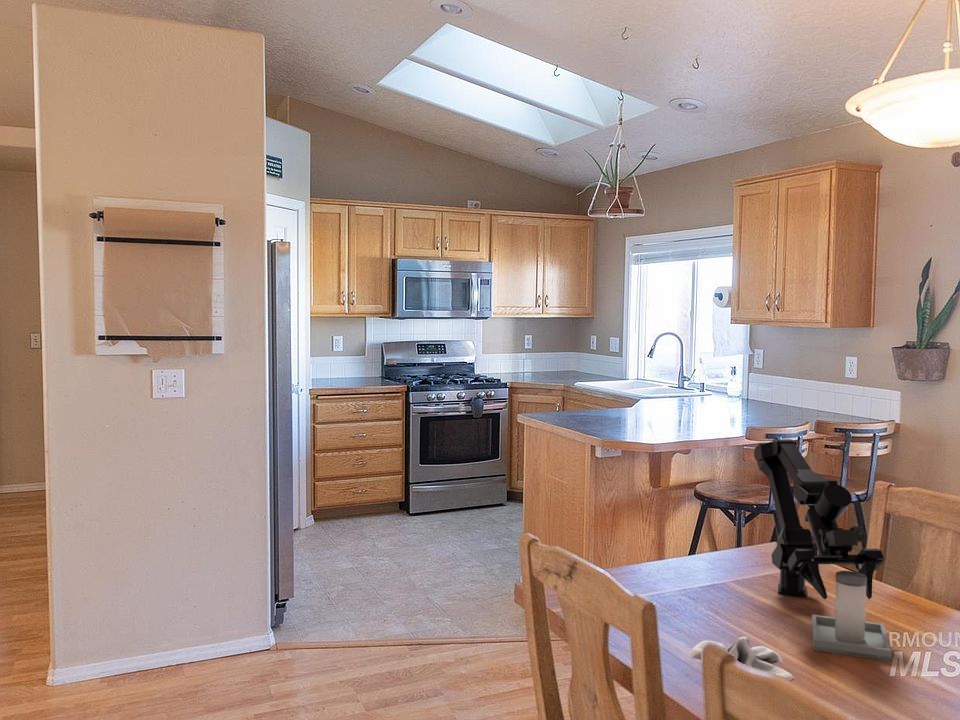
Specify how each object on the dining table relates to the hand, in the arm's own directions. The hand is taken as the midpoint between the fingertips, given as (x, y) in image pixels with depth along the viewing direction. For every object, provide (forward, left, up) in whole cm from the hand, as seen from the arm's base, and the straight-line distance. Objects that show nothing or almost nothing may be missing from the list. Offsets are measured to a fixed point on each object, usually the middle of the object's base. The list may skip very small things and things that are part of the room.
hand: (847, 598), depth 160 cm
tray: (+1, 0, -9) cm, 9 cm away
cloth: (+21, -20, -10) cm, 30 cm away
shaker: (+1, 0, -8) cm, 8 cm away
